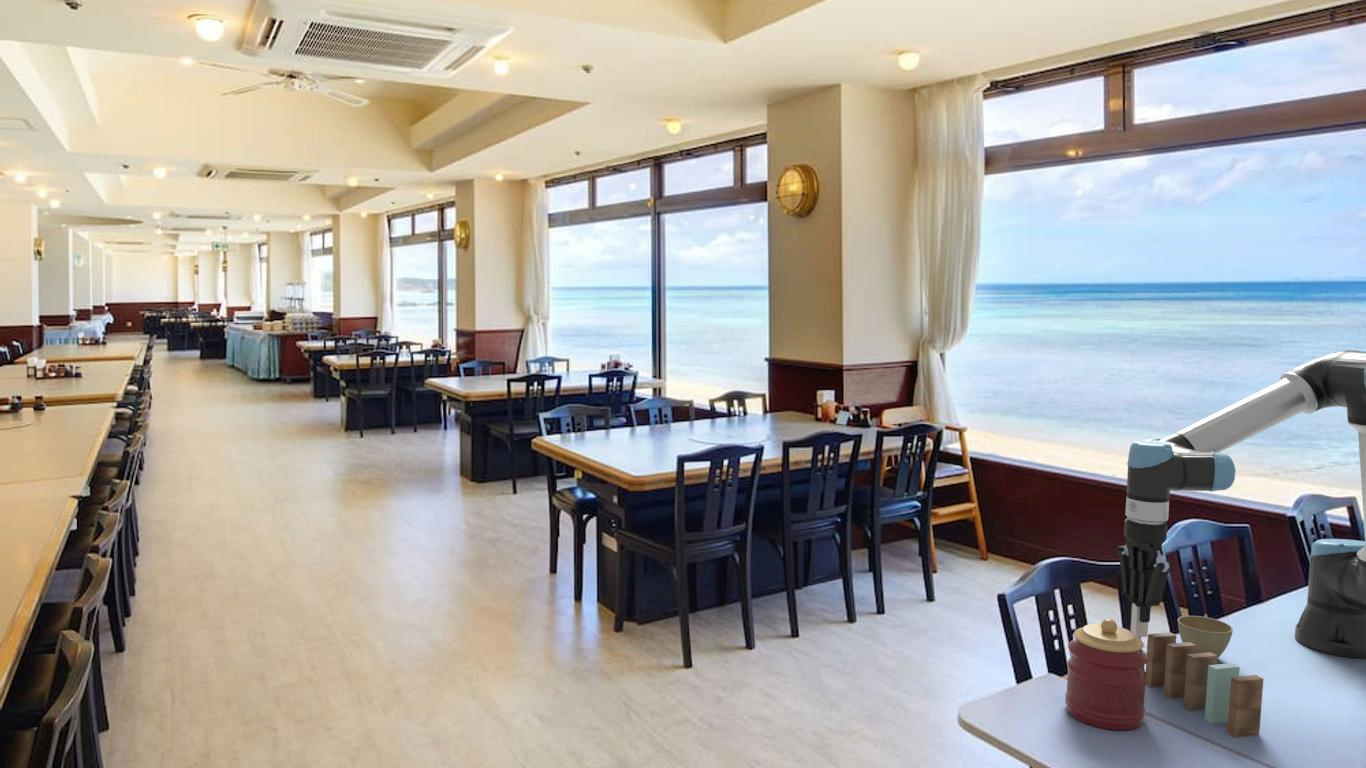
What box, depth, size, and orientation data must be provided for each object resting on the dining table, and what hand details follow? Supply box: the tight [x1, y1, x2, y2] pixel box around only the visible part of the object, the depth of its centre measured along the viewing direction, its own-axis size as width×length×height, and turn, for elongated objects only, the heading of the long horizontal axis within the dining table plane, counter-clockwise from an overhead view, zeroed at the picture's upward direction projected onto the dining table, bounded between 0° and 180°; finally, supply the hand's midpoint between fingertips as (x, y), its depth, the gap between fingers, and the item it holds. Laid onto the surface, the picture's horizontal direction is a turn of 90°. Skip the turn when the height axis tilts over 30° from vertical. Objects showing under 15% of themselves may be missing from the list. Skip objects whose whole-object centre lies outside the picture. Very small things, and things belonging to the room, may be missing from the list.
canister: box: [1064, 618, 1148, 731], centre depth 162 cm, size 13×13×18 cm
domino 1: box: [1145, 631, 1177, 688], centre depth 175 cm, size 5×2×10 cm, turn 102°
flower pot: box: [1177, 615, 1234, 660], centre depth 189 cm, size 10×10×7 cm
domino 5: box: [1226, 674, 1264, 738], centre depth 155 cm, size 5×2×10 cm, turn 102°
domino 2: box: [1163, 642, 1196, 700], centre depth 170 cm, size 5×2×10 cm, turn 102°
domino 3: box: [1183, 652, 1218, 712], centre depth 165 cm, size 5×2×10 cm, turn 102°
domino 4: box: [1204, 662, 1241, 724], centre depth 160 cm, size 5×2×10 cm, turn 102°
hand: (1138, 635), depth 180 cm, fingers closed
